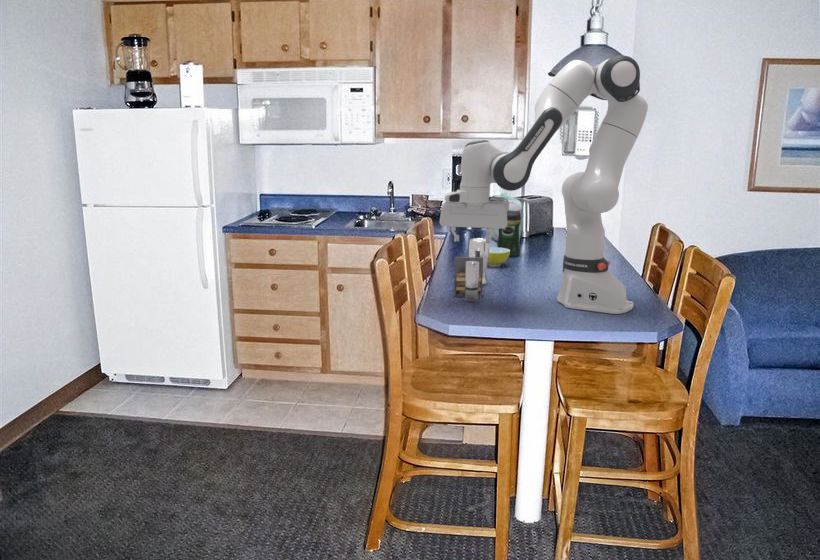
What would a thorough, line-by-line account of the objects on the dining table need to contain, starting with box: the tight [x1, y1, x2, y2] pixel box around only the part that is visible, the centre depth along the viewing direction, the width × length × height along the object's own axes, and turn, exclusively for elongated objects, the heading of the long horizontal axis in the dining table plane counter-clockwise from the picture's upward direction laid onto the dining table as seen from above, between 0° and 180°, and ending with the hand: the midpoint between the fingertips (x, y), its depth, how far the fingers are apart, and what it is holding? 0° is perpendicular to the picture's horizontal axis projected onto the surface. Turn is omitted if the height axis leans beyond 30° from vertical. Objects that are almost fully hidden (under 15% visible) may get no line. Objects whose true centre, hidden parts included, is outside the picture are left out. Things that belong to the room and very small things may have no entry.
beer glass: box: [468, 237, 490, 286], centre depth 220 cm, size 7×7×15 cm
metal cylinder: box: [464, 261, 479, 303], centre depth 199 cm, size 4×4×12 cm
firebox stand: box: [453, 256, 484, 299], centre depth 206 cm, size 9×9×11 cm
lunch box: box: [487, 192, 523, 242], centre depth 300 cm, size 27×10×21 cm, turn 10°
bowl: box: [488, 246, 510, 268], centre depth 248 cm, size 11×12×6 cm
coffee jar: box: [496, 211, 521, 258], centre depth 266 cm, size 10×8×19 cm
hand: (472, 242), depth 196 cm, fingers open, 8 cm apart
